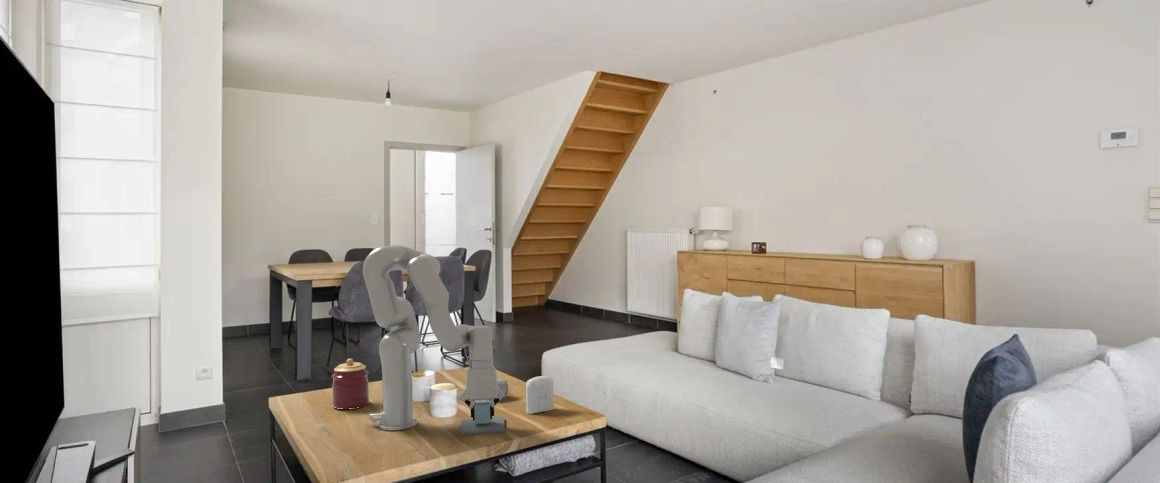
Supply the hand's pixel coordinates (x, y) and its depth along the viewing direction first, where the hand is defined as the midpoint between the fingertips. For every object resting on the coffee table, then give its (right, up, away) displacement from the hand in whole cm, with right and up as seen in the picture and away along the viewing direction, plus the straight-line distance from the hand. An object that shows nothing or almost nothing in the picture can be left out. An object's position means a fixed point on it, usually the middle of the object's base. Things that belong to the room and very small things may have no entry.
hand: (482, 418), depth 206 cm
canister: (-54, -4, +29) cm, 61 cm away
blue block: (0, -1, 0) cm, 1 cm away
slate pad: (0, -3, 0) cm, 3 cm away
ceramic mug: (-1, -2, +35) cm, 35 cm away
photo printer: (+18, -2, +17) cm, 25 cm away
